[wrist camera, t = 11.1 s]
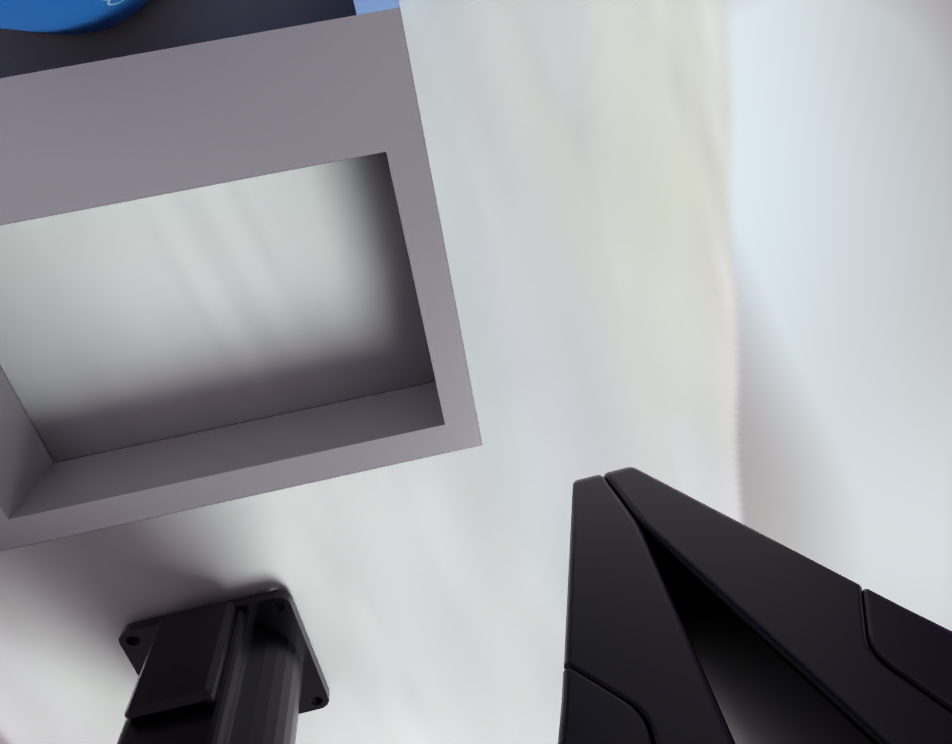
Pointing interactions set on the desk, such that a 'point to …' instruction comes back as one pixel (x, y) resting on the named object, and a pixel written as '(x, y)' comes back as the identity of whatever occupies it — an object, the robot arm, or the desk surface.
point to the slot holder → (208, 163)
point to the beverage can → (65, 15)
